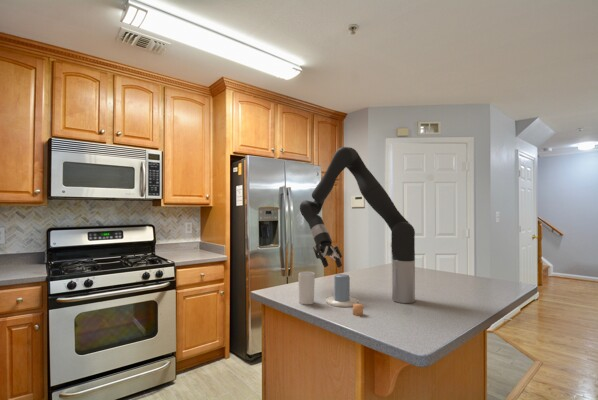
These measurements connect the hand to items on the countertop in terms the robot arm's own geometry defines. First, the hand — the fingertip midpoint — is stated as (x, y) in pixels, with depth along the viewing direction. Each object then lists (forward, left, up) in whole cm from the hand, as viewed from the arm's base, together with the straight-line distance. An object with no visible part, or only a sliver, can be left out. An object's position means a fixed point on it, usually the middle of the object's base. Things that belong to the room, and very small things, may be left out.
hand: (333, 266), depth 144 cm
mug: (+14, -4, -13) cm, 20 cm away
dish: (+5, +8, -13) cm, 16 cm away
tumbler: (+5, +8, -12) cm, 15 cm away
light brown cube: (+14, +21, -13) cm, 28 cm away
